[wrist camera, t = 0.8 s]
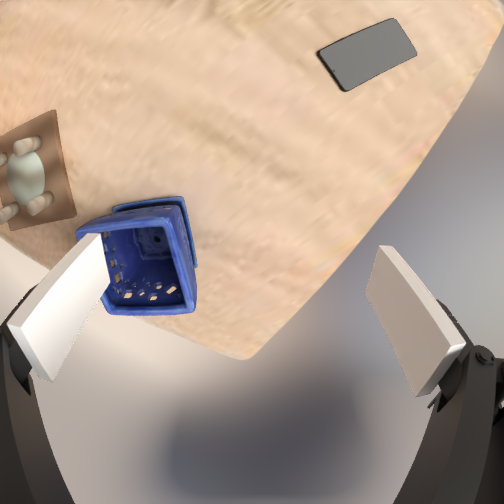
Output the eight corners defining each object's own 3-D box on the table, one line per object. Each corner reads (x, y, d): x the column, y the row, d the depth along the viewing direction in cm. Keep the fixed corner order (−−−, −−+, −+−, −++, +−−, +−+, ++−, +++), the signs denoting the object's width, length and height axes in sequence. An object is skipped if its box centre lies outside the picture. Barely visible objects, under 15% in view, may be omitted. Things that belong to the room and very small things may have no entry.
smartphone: (419, 54, 28) (345, 93, 32) (416, 55, 29) (343, 93, 33) (394, 16, 25) (316, 51, 29) (391, 18, 26) (315, 52, 30)
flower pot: (132, 272, 45) (106, 318, 35) (110, 198, 39) (70, 230, 28) (207, 266, 45) (197, 315, 34) (192, 184, 38) (171, 213, 28)
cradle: (-7, 142, 32) (-29, 149, 26) (55, 109, 31) (31, 112, 26) (14, 228, 40) (-5, 242, 35) (77, 214, 40) (57, 230, 34)
